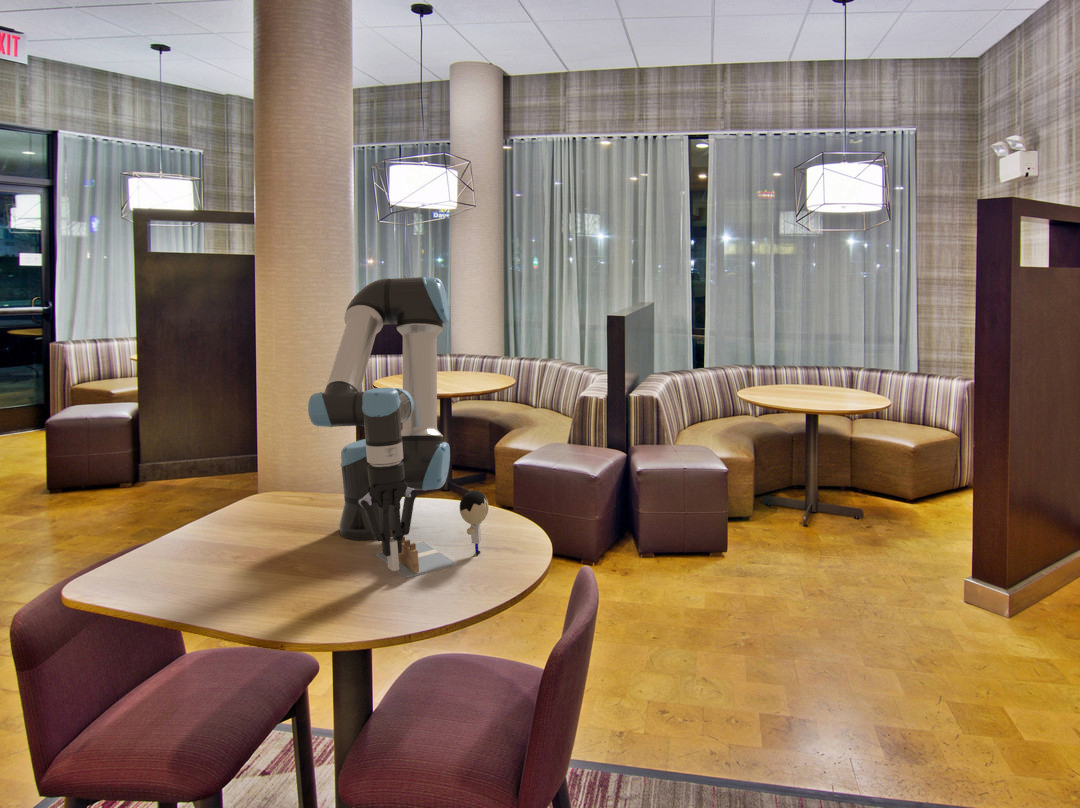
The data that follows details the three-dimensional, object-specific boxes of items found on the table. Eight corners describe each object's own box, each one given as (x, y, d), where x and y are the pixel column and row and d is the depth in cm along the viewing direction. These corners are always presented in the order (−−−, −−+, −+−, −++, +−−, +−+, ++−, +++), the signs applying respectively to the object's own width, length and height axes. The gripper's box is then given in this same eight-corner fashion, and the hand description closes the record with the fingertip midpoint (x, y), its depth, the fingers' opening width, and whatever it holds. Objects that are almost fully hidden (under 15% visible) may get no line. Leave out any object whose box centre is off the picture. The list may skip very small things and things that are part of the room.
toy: (485, 561, 172) (481, 497, 169) (457, 560, 173) (453, 496, 171) (495, 547, 180) (492, 486, 178) (468, 546, 182) (464, 485, 179)
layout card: (376, 555, 178) (376, 553, 178) (423, 543, 185) (423, 541, 185) (406, 578, 164) (406, 576, 164) (456, 564, 171) (456, 562, 171)
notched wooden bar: (398, 561, 172) (396, 535, 171) (403, 560, 173) (401, 534, 172) (414, 572, 165) (412, 546, 164) (419, 571, 166) (417, 545, 165)
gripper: (362, 471, 154) (371, 581, 159) (421, 460, 161) (428, 566, 166) (349, 464, 161) (358, 570, 165) (407, 453, 167) (414, 556, 172)
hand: (393, 568), depth 165 cm, fingers closed
